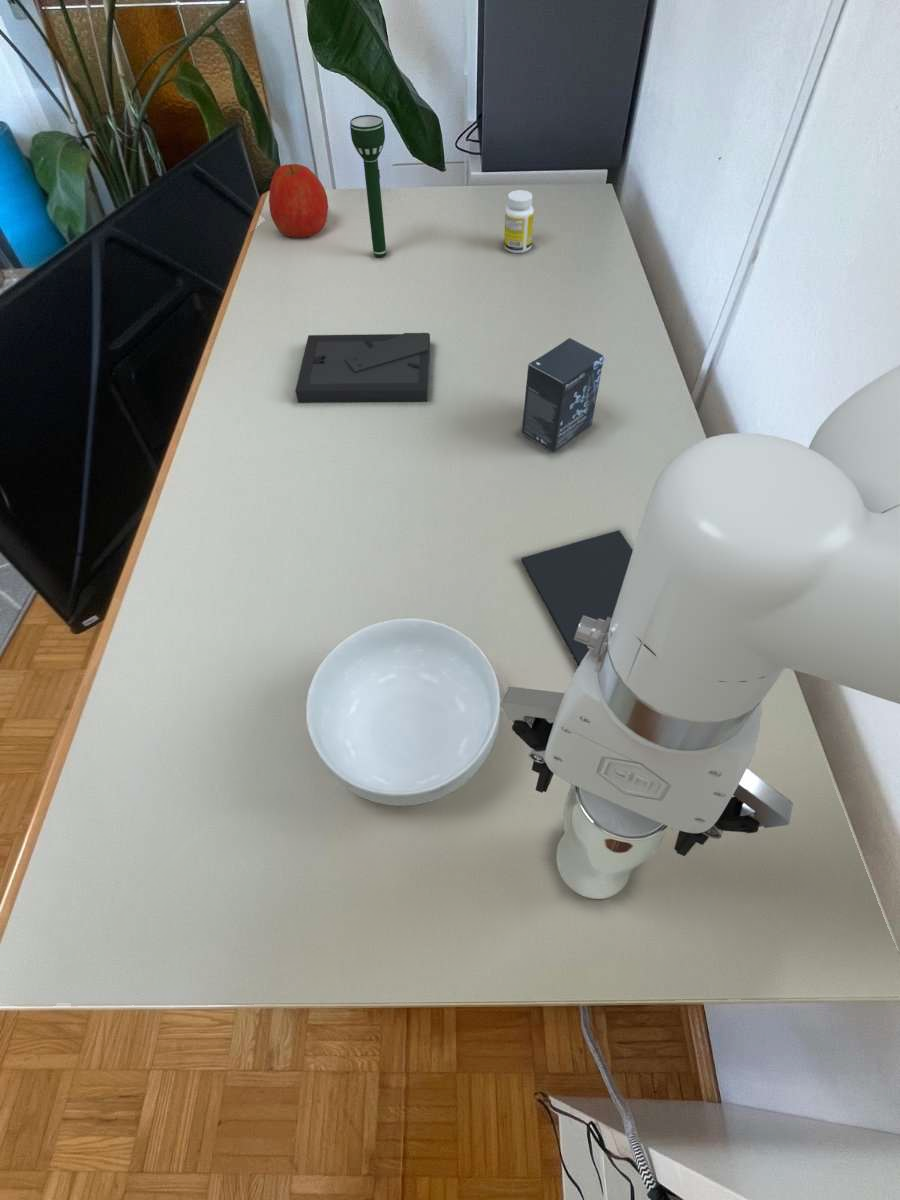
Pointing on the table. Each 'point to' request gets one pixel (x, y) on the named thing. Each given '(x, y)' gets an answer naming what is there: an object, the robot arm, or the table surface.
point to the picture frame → (365, 368)
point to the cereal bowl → (403, 711)
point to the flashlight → (371, 172)
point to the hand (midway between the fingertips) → (614, 802)
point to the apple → (297, 201)
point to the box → (561, 394)
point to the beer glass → (603, 844)
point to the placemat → (580, 582)
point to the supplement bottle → (518, 222)
